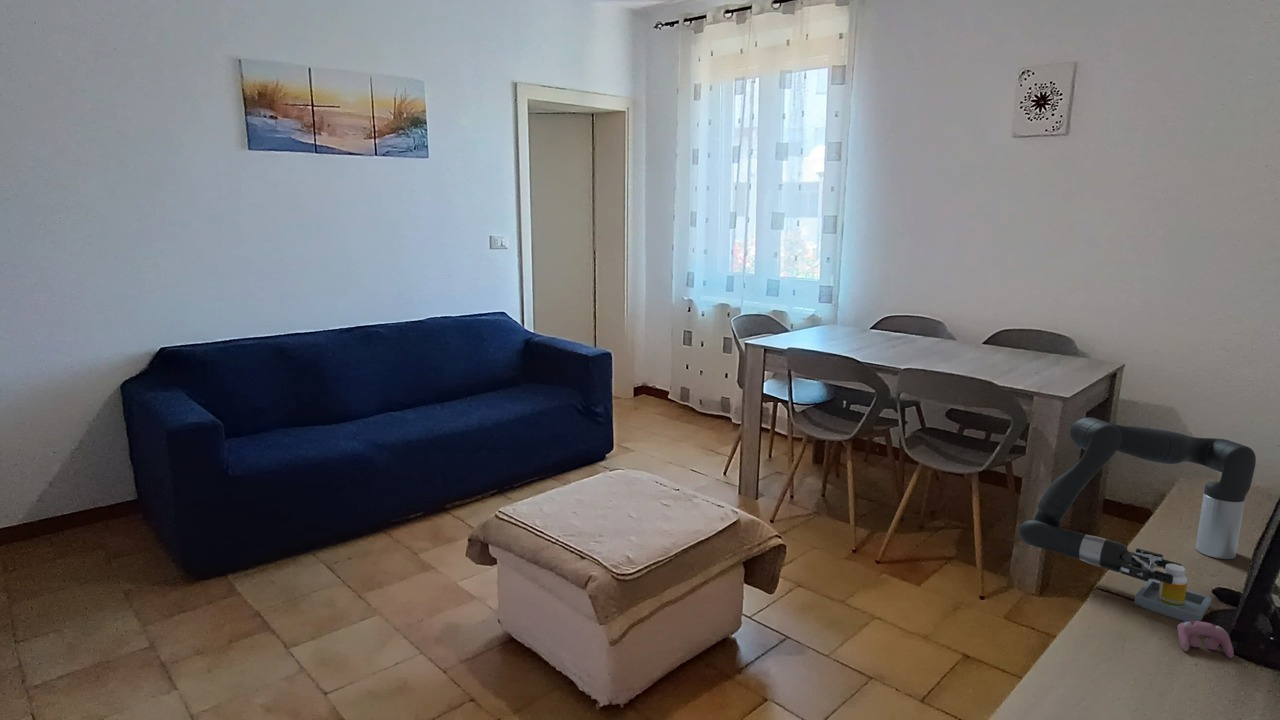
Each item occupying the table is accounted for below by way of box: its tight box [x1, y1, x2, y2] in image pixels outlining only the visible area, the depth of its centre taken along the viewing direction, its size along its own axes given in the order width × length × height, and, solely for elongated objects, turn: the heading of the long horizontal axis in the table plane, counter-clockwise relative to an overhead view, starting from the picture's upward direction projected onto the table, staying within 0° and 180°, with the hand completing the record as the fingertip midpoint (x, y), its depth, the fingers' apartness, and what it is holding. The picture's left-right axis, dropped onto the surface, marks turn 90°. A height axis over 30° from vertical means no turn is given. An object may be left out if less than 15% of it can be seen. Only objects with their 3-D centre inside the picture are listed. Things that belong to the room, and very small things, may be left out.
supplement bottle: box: [1158, 564, 1188, 608], centre depth 181 cm, size 5×5×10 cm
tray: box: [1133, 579, 1212, 622], centre depth 182 cm, size 13×13×2 cm
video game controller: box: [1176, 620, 1235, 659], centre depth 163 cm, size 10×5×7 cm, turn 72°
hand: (1177, 574), depth 180 cm, fingers open, 8 cm apart
